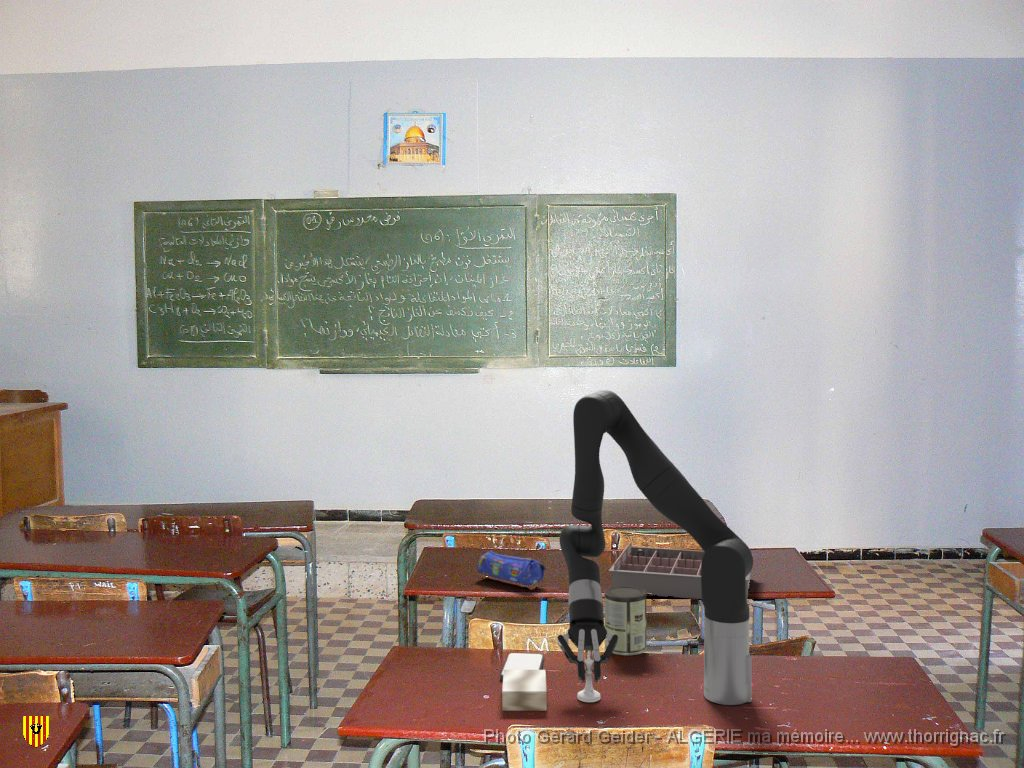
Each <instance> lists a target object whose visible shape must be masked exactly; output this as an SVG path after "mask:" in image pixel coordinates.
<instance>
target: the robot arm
mask: <svg viewBox="0 0 1024 768" xmlns="http://www.w3.org/2000/svg"><path fill="white" fill-rule="evenodd" d="M572 415H573V419H572V420H573V421H572V422H573V425H572V426H573V438H574V439H573V440H574V441H573V442H574V468H575V469H574V480H573V488H572V489H573V490H572V498H571V499H572V500H571V507H570V513H571V515H572V517H573V518H575V519H577V520H578V521H581V522H584V523H588V524H590V526H588V525H572V524H571V525H569V524H568V525H566V526H564V527H563V528H562V530H561V531H560V534H559V545H560V549H561V553H562V556H563V557H564V560H565V564H566V567H567V571H568V585H569V586H568V588H569V589H568V603H567V604H568V615H569V617H568V619H569V621H568V622H569V623H568V624H569V627H568V629H567V632H565V634H563V635H562V634H559V635H557V641H556V642H557V645H558V647H559V648H560V649H561V651H562V653H563V655H564V656H565V658H566V659H567V661H568V663H570V664H575V665H576V667H577V678H578V680H579V681H581V682H580V683H582V684H584V683H585V684H586V673H585V669H586V665H585V663H584V652H585V651H590V652H591V655H592V659H593V660H594V662H593V665H592V668H593V669H592V670H594V673H593V682H594V683H595V684H596V683H598V682H599V681H600V680H601V679H602V677H601V676H602V671H601V669H602V668H601V666H602V664H607V663H608V662H609V661H610V658H611V657H612V654H613V651H614V649H615V647H616V645H617V642H618V636H617V635H611V634H609V633H607V630H606V628H605V613H604V603H603V602H604V601H603V592H602V589H601V587H602V586H601V575H600V567H599V564H598V563H597V562H596V561H594V560H592V559H589V558H598V557H600V556H601V555H602V554H603V553H604V551H605V548H606V538H605V533H604V528H603V527H604V526H603V520H602V518H603V517H602V516H603V514H602V512H603V510H602V509H603V505H604V504H603V503H604V498H605V497H604V494H605V479H604V478H605V477H604V473H603V470H602V467H601V462H600V461H601V460H600V451H601V445H602V441H603V439H604V438H603V437H604V435H605V434H606V433H607V435H609V436H610V437H611V438H612V439H613V440H614V442H615V443H616V444H617V445H618V446H619V447H620V449H621V450H622V451H623V453H624V455H625V457H626V460H627V463H628V466H629V470H630V473H631V475H632V478H633V481H634V483H635V485H636V487H637V489H639V491H640V492H641V493H642V494H643V496H644V497H645V498H646V499H647V501H648V502H649V503H650V504H651V505H652V506H653V507H654V508H655V509H656V510H657V511H658V512H659V513H660V514H661V515H663V516H664V517H665V518H667V519H668V520H670V521H671V522H673V523H674V524H675V525H677V526H678V527H680V528H681V529H683V530H684V531H686V533H688V534H689V535H690V537H691V538H692V539H693V540H694V541H695V542H696V543H697V544H698V545H699V547H700V549H702V551H704V552H705V553H704V555H703V558H702V563H701V594H702V599H701V601H702V602H701V603H702V606H703V608H704V609H703V611H704V613H703V614H704V618H703V619H704V624H703V625H704V628H703V629H704V630H703V631H704V633H703V634H704V636H703V637H704V638H703V641H704V642H703V643H704V644H703V647H704V649H703V696H704V698H705V699H706V700H708V701H709V702H711V703H715V704H719V705H722V706H723V705H724V706H737V705H738V706H739V705H743V704H745V703H752V681H753V680H752V677H753V676H752V674H753V673H752V672H753V659H752V656H751V655H750V605H749V603H748V602H747V603H746V586H745V580H746V576H747V575H748V574H749V573H750V572H751V573H752V569H753V566H754V557H753V556H752V554H753V553H752V551H751V549H750V547H749V546H748V545H747V544H746V542H745V541H744V540H742V538H740V537H739V535H737V534H736V533H735V532H734V531H733V530H732V529H731V528H730V526H727V525H726V523H725V522H723V520H721V519H720V517H718V516H717V514H716V513H715V512H714V511H713V510H712V509H711V508H710V506H709V505H708V504H707V503H706V501H705V500H704V499H703V498H702V496H701V495H700V494H699V493H698V492H697V490H696V488H694V487H693V486H692V485H691V483H690V482H689V481H688V480H687V478H686V477H685V476H684V475H683V473H682V472H681V471H680V470H679V469H678V468H677V467H676V465H675V464H674V463H673V462H672V461H671V460H670V459H669V458H668V457H667V456H666V455H665V454H664V452H663V451H662V450H661V449H660V448H659V446H658V445H657V444H656V442H654V440H653V439H652V438H651V437H650V436H649V435H648V433H646V431H645V430H644V428H643V427H642V426H641V424H640V423H639V421H638V420H637V418H636V416H635V415H634V414H633V413H632V411H631V410H630V408H629V407H628V406H627V404H626V402H624V400H623V399H622V398H621V397H620V396H619V395H618V394H617V393H616V392H614V391H611V390H608V389H607V390H605V389H602V390H598V391H595V392H593V393H590V394H587V395H584V396H583V397H581V398H580V399H578V400H577V402H576V404H575V405H574V408H573V414H572ZM587 557H588V558H587ZM605 638H606V639H607V644H608V646H607V648H606V649H605V650H604V652H603V654H601V653H600V647H601V645H602V644H603V642H605ZM569 640H570V641H571V643H573V645H574V646H575V647H576V648H577V655H576V654H575V653H574V652H573V650H572V649H571V646H570V643H569V642H570V641H569Z"/></svg>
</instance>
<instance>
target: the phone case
mask: <svg viewBox="0 0 1024 768" xmlns="http://www.w3.org/2000/svg"><path fill="white" fill-rule="evenodd" d="M544 662H545V655H544V654H542V653H528V652H527V653H525V652H524V653H523V652H510V653H508V654H507V655H506V659H505V661H504V664H503V666H502V669H501V672H500V675H499V679H500V681H501V682H503V674H504V670H543V666H544Z"/></svg>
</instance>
